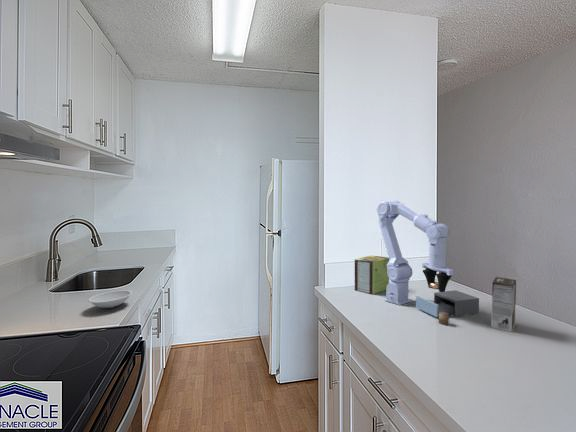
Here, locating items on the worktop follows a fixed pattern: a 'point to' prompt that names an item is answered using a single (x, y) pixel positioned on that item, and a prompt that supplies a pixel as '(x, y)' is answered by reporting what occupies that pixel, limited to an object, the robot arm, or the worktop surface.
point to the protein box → (371, 274)
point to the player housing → (459, 302)
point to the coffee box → (503, 304)
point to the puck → (434, 285)
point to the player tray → (433, 306)
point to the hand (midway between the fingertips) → (436, 289)
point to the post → (443, 318)
